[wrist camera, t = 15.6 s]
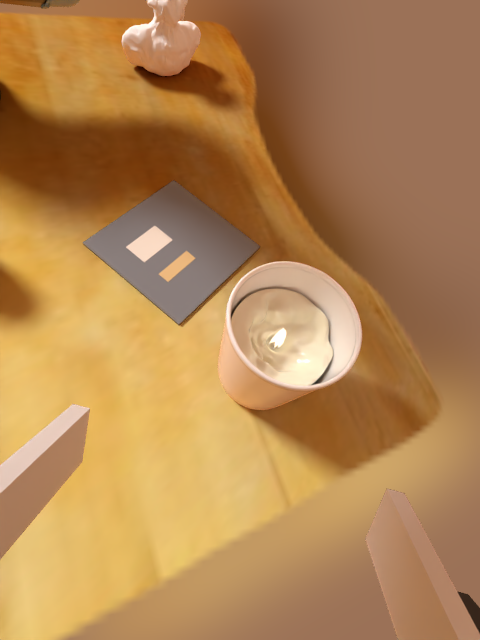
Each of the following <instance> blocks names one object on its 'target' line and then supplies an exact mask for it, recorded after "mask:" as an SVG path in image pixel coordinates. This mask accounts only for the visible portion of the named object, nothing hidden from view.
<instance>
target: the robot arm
mask: <svg viewBox="0 0 480 640" xmlns="http://www.w3.org/2000/svg"><path fill="white" fill-rule="evenodd" d="M78 2H79V0H0V3H5V4H15V5H25V6H34V7H41V8H44V9H46V8H49V7H50V6H53V7H71V6H74V5H76V4H77V3H78ZM0 99H1V91H0ZM89 411H90V408H86V407H82V406H79V405H75V404H72V405H71V406H70V407H69V408H68V409H66V410H65V411H64V412H63V413H62V414H60V415H59V416H58V417H57V418H56V419H54V420H53V421H52V422H51V423H50V424H49V425H47V426H46V427H45V428H44V429H43V430H41V431H40V432H39V433H38V434H37V435H35V436H34V437H33V438H32V439H31V440H30V441H28V442H27V443H26V444H25V445H24V446H22V447H21V448H20V449H19V450H18V451H16V452H15V453H14V454H13V455H12V456H11V457H9V458H8V459H7V460H6V461H5V462H3V463H2V464H1V465H0V559H1V558H2V557H3V556H4V554H5V553H6V552H7V551H8V550H9V548H10V547H11V546H12V545H13V544H14V542H15V541H16V540H17V539H18V538H19V536H20V535H21V534H22V533H23V532H24V531H25V529H26V528H27V527H28V526H29V525H30V523H31V522H32V521H33V520H34V519H35V517H36V516H37V515H38V514H39V513H40V511H41V510H42V509H43V508H44V507H45V505H46V504H47V503H48V502H49V501H50V499H51V498H52V497H53V496H54V495H55V494H56V492H57V491H58V490H59V489H60V488H61V486H62V485H63V484H64V483H65V482H66V480H67V479H68V478H69V477H70V476H71V474H72V473H73V472H74V471H75V470H76V468H77V467H78V466H79V465H80V464H81V462H82V459H83V452H84V445H85V439H86V432H87V425H88V418H89ZM365 540H366V543H367V546H368V549H369V552H370V555H371V558H372V562H373V565H374V568H375V571H376V574H377V577H378V580H379V583H380V586H381V589H382V593H383V596H384V599H385V602H386V605H387V608H388V611H389V614H390V617H391V620H392V624H393V627H394V630H395V633H396V636H397V639H398V640H480V608H479V607H478V606H477V604H476V603H475V602H474V601H473V600H472V599H471V597H470V596H469V595H468V594H464V593H461V592H457V590H456V588H455V587H454V585H453V583H452V581H451V579H450V577H449V576H448V574H447V572H446V570H445V568H444V566H443V564H442V562H441V560H440V559H439V557H438V555H437V553H436V551H435V549H434V547H433V545H432V544H431V542H430V540H429V538H428V536H427V534H426V532H425V531H424V529H423V527H422V525H421V523H420V521H419V520H418V518H417V516H416V514H415V512H414V510H413V508H412V506H411V505H410V502H409V501H408V499H407V497H406V496H405V494H404V493H402V492H398V491H395V490H391V489H387V490H386V492H385V494H384V496H383V499H382V501H381V503H380V506H379V508H378V510H377V513H376V515H375V517H374V520H373V522H372V524H371V527H370V529H369V531H368V534H367V536H366V539H365Z"/></svg>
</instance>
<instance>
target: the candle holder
mask: <svg viewBox="0 0 480 640" xmlns="http://www.w3.org/2000/svg"><path fill="white" fill-rule="evenodd" d="M361 343H362V327H361V321H360V317H359V314H358V312H357V309H356V307H355V305H354V303H353V301H352V300H351V298H350V297H349V295H348V294H347V292H346V291H345V290H344V289H343V288H342V287H341V286H340V285H339V284H338V283H337V282H336V281H335V280H334V279H333V278H331V277H330V276H328V275H327V274H325V273H324V272H322V271H320V270H318V269H316V268H314V267H311V266H309V265H306V264H302V263H297V262H289V261H279V262H272V263H267V264H264V265H261V266H259V267H257V268H255V269H253V270H251V271H250V272H248V273H247V274H246V275H245V276H243V277H242V278H241V279H240V280H239V282H238V283H237V284H236V286H235V287H234V289H233V291H232V293H231V295H230V297H229V300H228V304H227V309H226V320H225V325H224V331H223V336H222V341H221V346H220V352H219V358H218V374H219V378H220V381H221V384H222V386H223V388H224V389H225V391H226V392H227V394H228V395H229V396H230V397H231V398H232V399H233V400H234V401H236V402H237V403H239V404H240V405H242V406H244V407H247V408H250V409H255V410H268V409H272V408H276V407H278V406H281V405H283V404H286V403H288V402H290V401H293V400H295V399H297V398H299V397H302V396H304V395H306V394H309V393H311V392H313V391H315V390H318V389H322V388H325V387H327V386H330V385H332V384H334V383H336V382H337V381H339V380H340V379H341V378H343V377H344V376H345V375H346V374H347V373H348V372H349V371H350V369H351V368H352V367H353V365H354V364H355V362H356V360H357V358H358V355H359V352H360V349H361Z"/></svg>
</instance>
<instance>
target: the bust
mask: <svg viewBox="0 0 480 640" xmlns="http://www.w3.org/2000/svg"><path fill="white" fill-rule="evenodd" d="M146 2H147V4H148V6H150V7H152V8H153V9H154V18H153V20H152V21H151V22H150V23H149V24H142V25H136V26H132V27H130V28H129V29H128V30H127V31H126V32H125V33H124V34H123V37H122V47H123V50H124V53H125V55H126V57H127V59H128V61H129V62H130V63H131V64H133V65H137V66H142V67H144V68H145V69H146V70H147V71H149V72H153V73H155V74H158V75H160V76H172V75H175V74H178V73H180V72H181V71H182V69H184V68H186V67H187V66H188V65H189V64H190V60H191V58H192V56H193V54H194V52H195V50H196V48H197V47H198V45H199V43H200V41H199V40H200V36H201V33H200V30H199V28H198V27H197V26H196V25H195V24H194V23H192V22H188V21H183V20H184V14H185V12H184V8H185V6H186V4H187V0H146ZM179 19H180V20H181V21H179Z"/></svg>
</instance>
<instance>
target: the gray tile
mask: <svg viewBox="0 0 480 640" xmlns="http://www.w3.org/2000/svg"><path fill="white" fill-rule="evenodd" d="M83 244H84V245H85V246H86V247H87V248H88V249H90V250H91V251H92V252H93V253H94V254H95V255H97V256H98V257H99V258H100V259H101V260H103V261H104V262H105V263H106V264H107V265H108V266H110V267H111V268H112V269H113V270H114V271H116V272H117V273H118V274H119V275H120V276H121V277H123V278H124V279H125V280H126V281H127V282H129V283H130V284H131V285H132V286H133V287H134V288H136V289H137V290H138V291H139V292H140V293H141V294H143V295H144V296H145V297H146V298H147V299H149V300H150V301H151V302H152V303H153V304H154V305H156V306H157V307H158V308H159V309H160V310H162V311H163V312H164V313H165V314H166V315H167V316H169V317H170V318H171V319H172V320H173V321H175V322H176V323H177V324H178V325H180V324H181V323H182V322H183V321H184V320H185V319H186V318H187V317H188V316H189V315H190V314H191V313H192V312H193V311H194V310H195V309H196V308H197V307H198V306H199V305H201V304H202V303H203V302H204V301H205V300H206V299H207V298H208V297H209V296H210V295H211V294H212V293H213V292H214V291H215V290H216V289H217V288H218V287H219V286H220V285H221V284H222V283H223V282H224V281H226V280H227V279H228V278H229V277H230V276H231V275H232V274H233V273H234V272H235V271H236V270H237V269H238V268H239V267H240V266H241V265H242V264H243V263H244V262H245V261H246V260H247V259H248V258H250V257H251V256H252V255H253V254H254V253H255V252H256V251H257V250H258V249H259V248H260V246H259V245H258V244H256V243H255V242H254V241H253V240H251V239H250V238H249V237H247V236H246V235H245V234H243V233H242V232H241V231H240V230H238V229H237V228H236V227H234V226H233V225H232V224H230V223H229V222H228V221H226V220H225V219H224V218H223V217H221V216H220V215H219V214H217V213H216V212H215V211H213V210H212V209H211V208H209V207H208V206H207V205H206V204H204V203H203V202H202V201H200V200H199V199H198V198H196V197H195V196H194V195H193V194H191V193H190V192H189V191H187V190H186V189H185V188H183V187H182V186H181V185H179V184H178V183H177V182H176V181H174V180H173V181H172V182H170V183H169V184H168V185H166V186H165V187H163V188H162V189H160V190H159V191H157V192H156V193H154V194H153V195H151V196H150V197H149V198H147V199H146V200H144V201H143V202H141V203H140V204H138V205H137V206H135V207H134V208H132V209H131V210H130V211H128V212H127V213H125V214H124V215H122V216H121V217H119V218H118V219H116V220H115V221H114V222H112V223H111V224H109V225H108V226H106V227H105V228H103V229H102V230H100V231H99V232H97V233H96V234H95V235H93V236H92V237H90V238H89V239H87V240H86V241H84V242H83Z"/></svg>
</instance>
